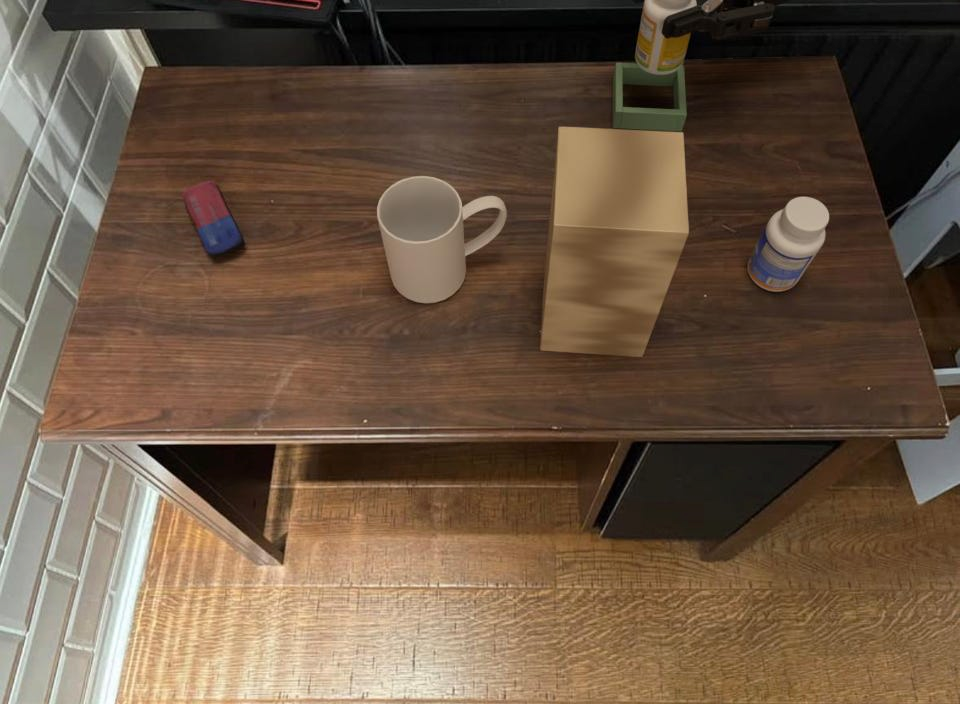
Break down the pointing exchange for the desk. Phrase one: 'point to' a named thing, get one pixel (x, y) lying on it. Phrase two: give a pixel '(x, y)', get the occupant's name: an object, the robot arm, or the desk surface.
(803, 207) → the pill bottle
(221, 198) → the eraser
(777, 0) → the robot arm
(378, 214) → the mug
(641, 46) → the supplement bottle
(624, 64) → the bottle holder
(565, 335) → the block
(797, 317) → the desk surface
